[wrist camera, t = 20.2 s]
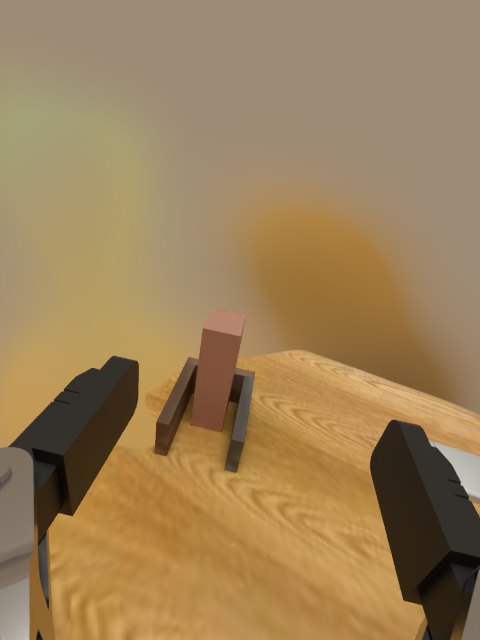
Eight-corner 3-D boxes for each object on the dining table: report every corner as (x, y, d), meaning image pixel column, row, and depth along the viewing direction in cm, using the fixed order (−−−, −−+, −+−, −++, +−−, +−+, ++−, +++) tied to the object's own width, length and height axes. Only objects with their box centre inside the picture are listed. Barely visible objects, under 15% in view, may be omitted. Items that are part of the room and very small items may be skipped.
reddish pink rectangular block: (228, 404, 49) (246, 315, 42) (221, 431, 44) (240, 336, 37) (199, 398, 49) (212, 308, 42) (190, 424, 45) (202, 328, 37)
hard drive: (512, 466, 47) (425, 437, 49) (543, 519, 40) (439, 483, 42) (506, 473, 47) (420, 444, 50) (535, 527, 40) (433, 490, 42)
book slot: (248, 398, 51) (255, 372, 48) (236, 472, 39) (244, 442, 37) (185, 384, 52) (188, 357, 49) (154, 453, 40) (156, 422, 37)
